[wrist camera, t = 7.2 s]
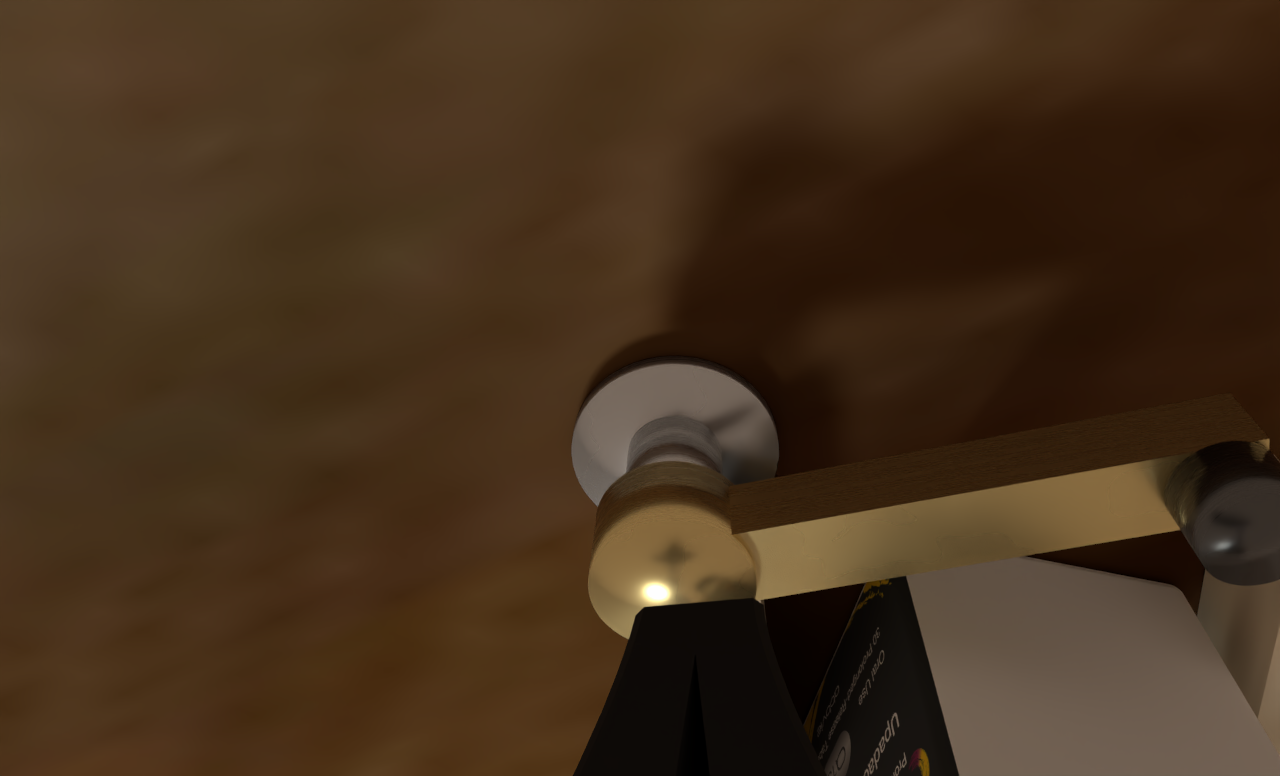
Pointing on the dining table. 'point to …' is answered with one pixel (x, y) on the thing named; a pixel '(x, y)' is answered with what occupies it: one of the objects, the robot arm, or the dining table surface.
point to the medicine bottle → (1031, 680)
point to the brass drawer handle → (943, 510)
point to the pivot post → (673, 423)
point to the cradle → (1246, 642)
